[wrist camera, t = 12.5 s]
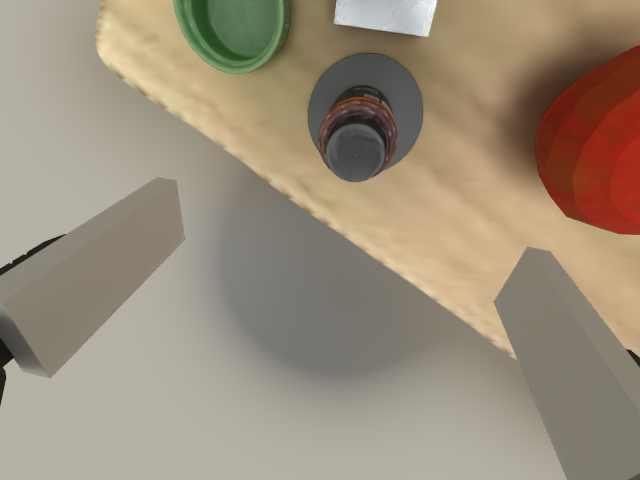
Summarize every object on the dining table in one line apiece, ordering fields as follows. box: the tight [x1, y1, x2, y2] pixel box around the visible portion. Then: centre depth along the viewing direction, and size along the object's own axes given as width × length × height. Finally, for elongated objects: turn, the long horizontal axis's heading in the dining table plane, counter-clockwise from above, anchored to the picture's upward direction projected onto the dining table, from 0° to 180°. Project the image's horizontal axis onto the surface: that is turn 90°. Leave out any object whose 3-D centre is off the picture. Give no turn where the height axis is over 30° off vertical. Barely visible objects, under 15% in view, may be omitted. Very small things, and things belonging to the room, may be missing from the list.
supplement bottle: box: [318, 85, 397, 182], centre depth 25 cm, size 6×6×11 cm
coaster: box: [308, 53, 423, 170], centre depth 30 cm, size 11×11×1 cm
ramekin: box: [173, 0, 290, 74], centre depth 26 cm, size 9×9×4 cm
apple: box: [535, 45, 640, 235], centre depth 22 cm, size 12×12×14 cm
